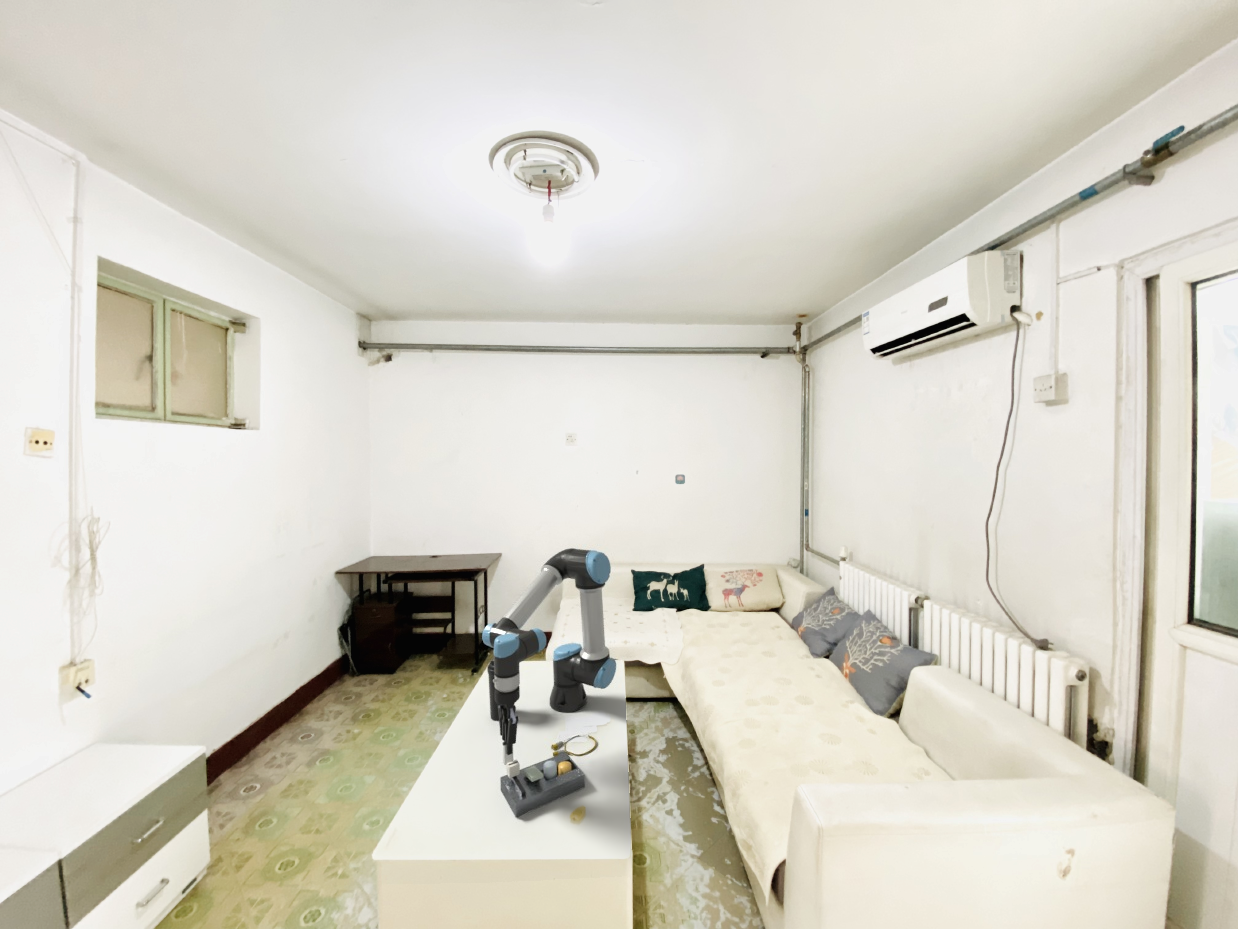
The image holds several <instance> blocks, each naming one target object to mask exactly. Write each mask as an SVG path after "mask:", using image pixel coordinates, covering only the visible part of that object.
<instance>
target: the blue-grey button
mask: <svg viewBox="0 0 1238 929" xmlns="http://www.w3.org/2000/svg"><path fill="white" fill-rule="evenodd" d="M543 767H544V778H545V780H546V781H548V780H550V779H552V778H555V777H557V763H556V762H555V761H547V762H545V763H544V765H543Z"/></svg>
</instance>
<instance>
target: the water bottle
mask: <svg viewBox="0 0 1238 929" xmlns="http://www.w3.org/2000/svg"><path fill="white" fill-rule="evenodd" d="M486 670H487V674H488V691H489V692H488V693H489V709H490V710H489V712H490V719H491V720H492V721H495V722H499V713H498V706H497V703H496V702H495V683H494V682H493V679H495V675H494V658H493V659H490V661H489V663H488V665H487V669H486Z"/></svg>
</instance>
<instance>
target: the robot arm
mask: <svg viewBox="0 0 1238 929" xmlns="http://www.w3.org/2000/svg"><path fill="white" fill-rule="evenodd" d="M611 569H612V567H611V563H610V560H609V558H608V556H607V555H606V554H605V553H604V552H601V551H597V550H591V549H590V550H589V549H581V548H573V547H571V548H566V549H564V550H561V551H558V552H557V553H556V554H554V555H553V556H552V557H551V558H549V559H548V560H547V561H546V562H545V563H544V564H543V566H541V568H540V573H538V575H537V576H536V577H535V579H534V580H533V581H532V582H531V583H530V584H529V586H528V587H527V588H526V589H525V590H524V592H523V593H522V594H521V595H519V596H520V597H518V599H517V600H516V601H515V602H514V603H513V604H512V606H510V608H509V609H508V610H507V611H506V612H505V614H504V615H503V616H502V617H501V618H500V620H499V621H498V622H497V623H496V622H491V623H488V624H487V625H486V626H485V627H484V629H483V630H482V635H481V637H482V638H481V639H482V641H483V644H484V645H486V646H488V647H490V648H493V650H492V651H493V659H494V675H495V679H493V682H494V683H495V702H496V703H497V706H498V713H499V721H498V722H499V723H498V724H499V736H501V739H502V763H503V765H504V766H507V763H509V762H511V761H514V745H515V744H516V743H517V732H518V723H519V716H518V715H517V716H516V709H517V707H516V705H515V704H516V702H518V701H519V699H520V696H521V695H520V694H521V693H520V692H521V691H520V688H521V687H520V684H521V682H520V681H521V679H520V678H521V677H520V675H521V674H520V663H522V662H524V661H525V660H526V659H529V658H531V657H533V656H535V655H538V653H540V652H541V651H543V650H544V649H545V647H546V646H547V636H546V634H545V632H544V631H543V630H542V629H540V628H538V627H537V628H531V629H530V630H524V629H522V627H524V625H525V624H526V623H527V622H528V620H529V619H531V617H532V615H533V614H534V613H535V612H536V611H537V609H538V608H539V606H541V605H542V603H543V602H544V601H545V599H546V598H547V597H548V595H549V594H550V593H551V592H552V591H553V589H555V587H556V586H558V585H560V584H562V582H563V581H564V580H566V579H572V580H574V582H575V583H574V584H575V588H576V589H577V590H579V599H580V600H579V601H580V615H581V616H580V617H581V618H580V619H581V632H582V645H581V644H580V643H576V642H575V643H574V642H571V643H566V644H565V643H564V644H561V645H559V646H557V647H556V648H555V649H554V651H553V658H552V661H553V662H552V665H553V667H552V668H553V686H552V689H551V692H550V697H549V707H550V708H552V710H554V711H556V712H561V713H570V712H577V711H578V710H581V709H583V708H585V706H586V705H587V702H588V701H587V699H588V698H587V692H586V690H585V687H584V685H587V686H590V687H593V688H595V689H597V688H598V689H601V690H603V689H606V688H608V687H609V686H610V685H611V683H612V681H613V680H614V678H615V675H616V671H617V661H616V660H615V658H613V657H610V648H608V647H607V646H606V640H605V638H606V636H605V622H604V604H603V588H604V587H605V585H606V583H607V582H608V580H609V579H610V574H611Z"/></svg>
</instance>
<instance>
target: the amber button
mask: <svg viewBox="0 0 1238 929" xmlns="http://www.w3.org/2000/svg"><path fill="white" fill-rule="evenodd" d="M569 771H571V763H570V762H568V761H563V762H561V763H559V765H558V772H559V776H560V775H562V774H565V773H567V772H569Z"/></svg>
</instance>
